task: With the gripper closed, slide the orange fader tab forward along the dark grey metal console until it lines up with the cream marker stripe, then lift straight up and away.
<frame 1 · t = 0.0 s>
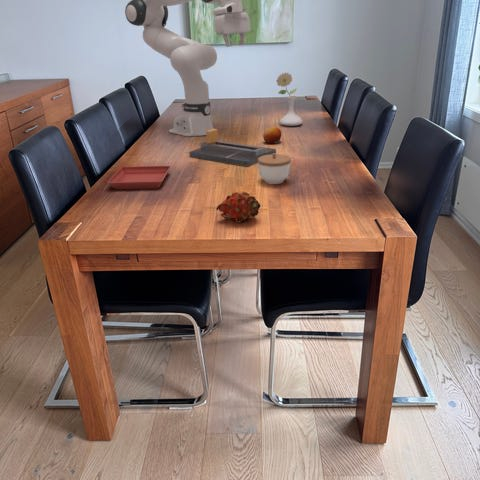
hand: (235, 45, 196), 39 cm above the table, tool pointing down, fingers open, 8 cm apart
console: (232, 155, 187), on the table
lidded jar: (274, 181, 157), on the table
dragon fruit: (238, 220, 128), on the table
fader: (212, 138, 190), point 6 cm above the table, slide at 0.0 cm
flower in vase: (289, 125, 234), on the table
fruit: (272, 143, 204), on the table
plant saucer: (141, 183, 161), on the table
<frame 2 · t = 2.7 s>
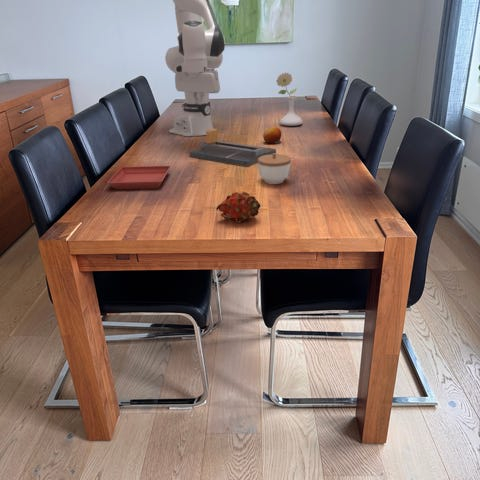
hand: (198, 104, 187), 19 cm above the table, tool pointing down, fingers closed
nothing on the table moved.
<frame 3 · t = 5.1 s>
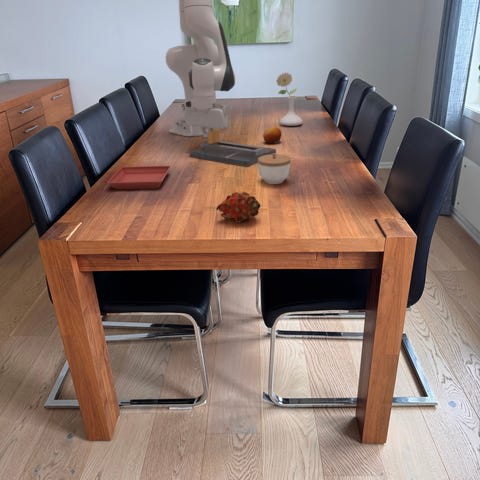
hand: (207, 137, 191), 6 cm above the table, tool pointing down, fingers closed
fader: (213, 138, 189), point 6 cm above the table, slide at 0.9 cm, touching gripper
everything else where it was.
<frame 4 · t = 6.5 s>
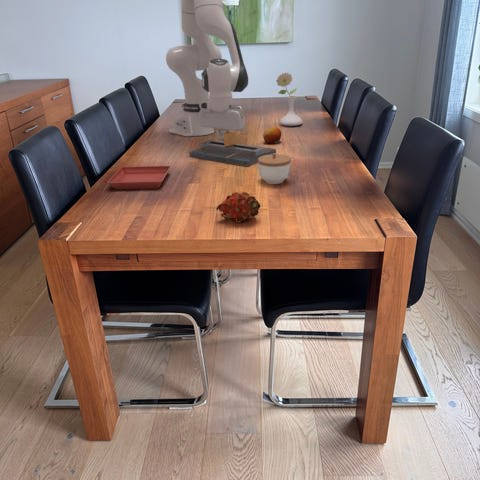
hand: (222, 139, 187), 6 cm above the table, tool pointing down, fingers closed
fader: (229, 141, 185), point 6 cm above the table, slide at 8.9 cm, touching gripper
everything else where it was.
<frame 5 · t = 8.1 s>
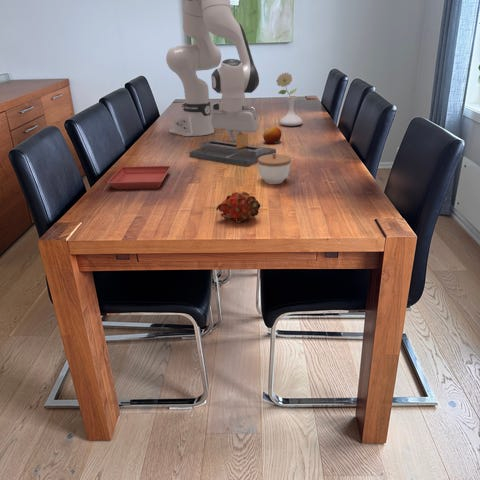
hand: (235, 141, 184), 6 cm above the table, tool pointing down, fingers closed
fader: (242, 142, 182), point 6 cm above the table, slide at 14.9 cm, touching gripper
everything else where it was.
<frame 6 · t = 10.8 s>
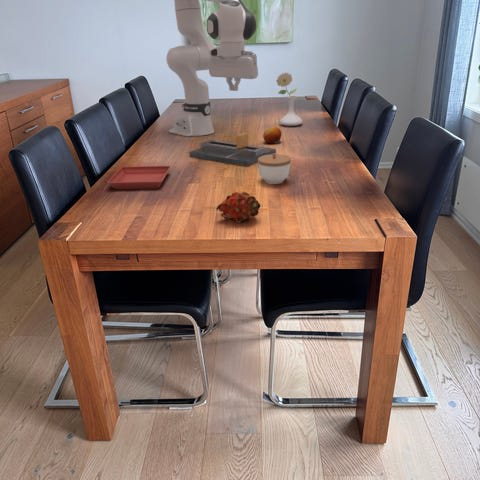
hand: (233, 90, 176), 25 cm above the table, tool pointing down, fingers closed
fader: (242, 142, 182), point 6 cm above the table, slide at 14.9 cm
everything else where it was.
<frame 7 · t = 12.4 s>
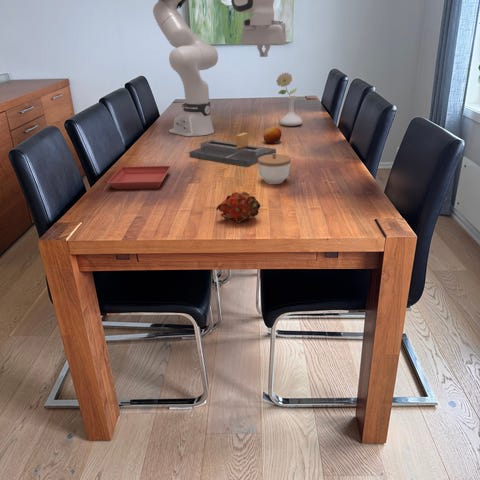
hand: (263, 56, 199), 34 cm above the table, tool pointing down, fingers closed
nothing on the table moved.
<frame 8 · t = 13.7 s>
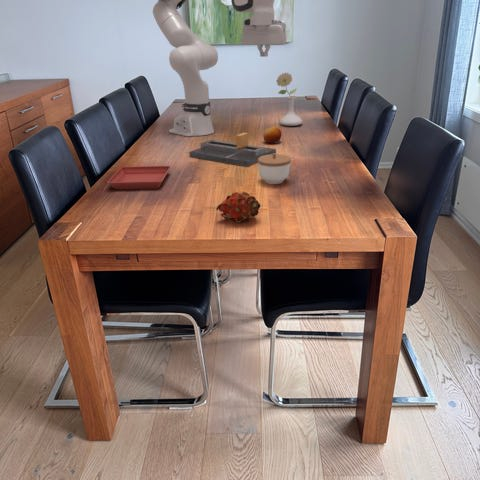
hand: (263, 56, 199), 34 cm above the table, tool pointing down, fingers closed
nothing on the table moved.
at the end: fader slide at 14.9 cm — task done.
